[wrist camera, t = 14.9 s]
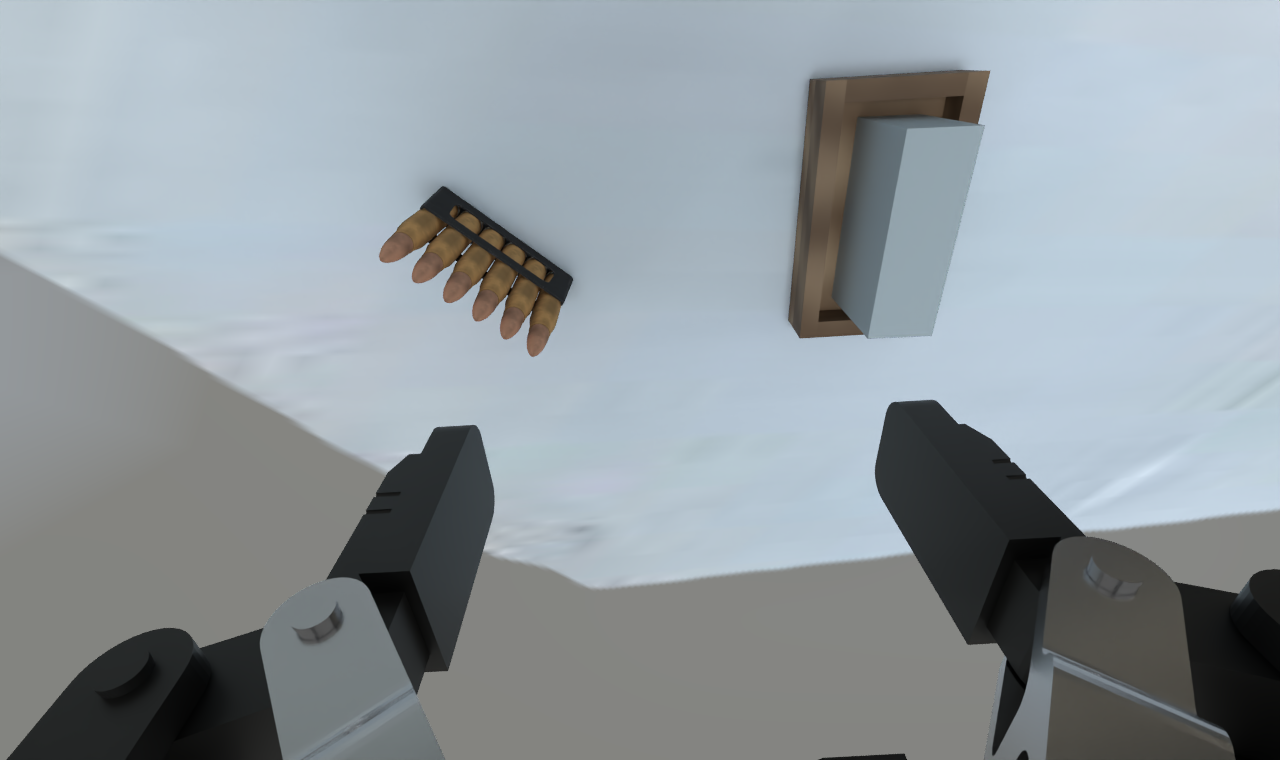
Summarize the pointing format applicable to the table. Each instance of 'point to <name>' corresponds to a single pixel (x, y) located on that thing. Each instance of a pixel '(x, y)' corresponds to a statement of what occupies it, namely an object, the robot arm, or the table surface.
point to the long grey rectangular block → (902, 220)
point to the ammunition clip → (482, 265)
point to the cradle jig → (830, 167)
